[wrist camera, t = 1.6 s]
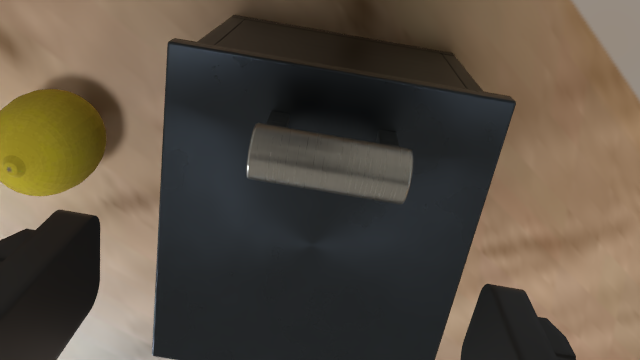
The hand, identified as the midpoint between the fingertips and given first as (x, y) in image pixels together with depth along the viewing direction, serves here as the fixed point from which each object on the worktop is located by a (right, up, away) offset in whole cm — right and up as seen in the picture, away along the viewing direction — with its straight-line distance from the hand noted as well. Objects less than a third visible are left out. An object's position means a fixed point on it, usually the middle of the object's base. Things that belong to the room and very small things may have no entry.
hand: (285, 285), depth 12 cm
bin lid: (0, 0, +12) cm, 12 cm away
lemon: (-14, +6, +23) cm, 28 cm away
